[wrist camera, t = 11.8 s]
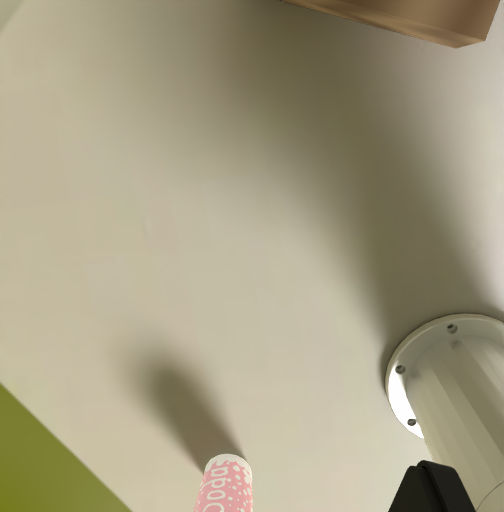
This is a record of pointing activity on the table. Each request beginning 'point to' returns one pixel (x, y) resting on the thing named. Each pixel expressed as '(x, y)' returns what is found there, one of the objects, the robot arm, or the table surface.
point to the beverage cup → (225, 486)
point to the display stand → (417, 17)
